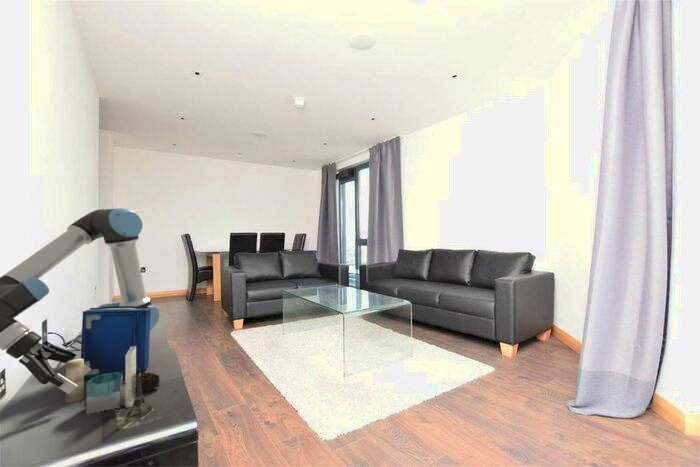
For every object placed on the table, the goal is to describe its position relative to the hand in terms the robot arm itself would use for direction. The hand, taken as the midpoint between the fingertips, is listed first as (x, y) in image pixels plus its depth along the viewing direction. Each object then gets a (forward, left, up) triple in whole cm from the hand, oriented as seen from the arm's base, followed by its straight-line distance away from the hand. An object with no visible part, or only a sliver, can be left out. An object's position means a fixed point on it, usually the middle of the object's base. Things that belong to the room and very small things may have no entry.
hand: (81, 380), depth 101 cm
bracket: (+10, +10, -6) cm, 15 cm away
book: (-18, +6, -6) cm, 20 cm away
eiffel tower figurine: (+19, +18, -6) cm, 27 cm away
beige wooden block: (0, -2, -6) cm, 6 cm away
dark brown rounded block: (+2, +13, -6) cm, 15 cm away
